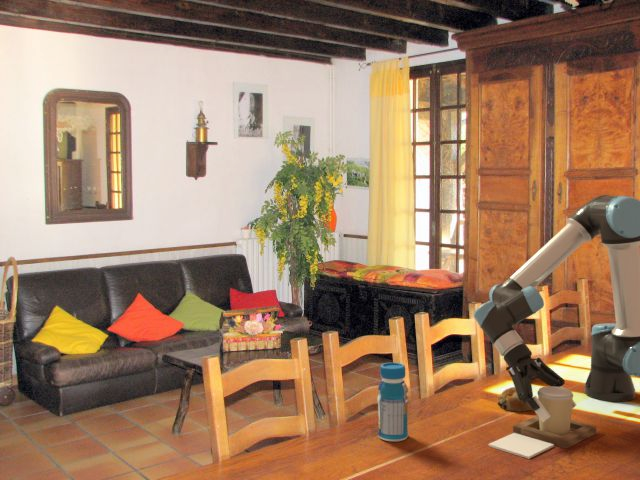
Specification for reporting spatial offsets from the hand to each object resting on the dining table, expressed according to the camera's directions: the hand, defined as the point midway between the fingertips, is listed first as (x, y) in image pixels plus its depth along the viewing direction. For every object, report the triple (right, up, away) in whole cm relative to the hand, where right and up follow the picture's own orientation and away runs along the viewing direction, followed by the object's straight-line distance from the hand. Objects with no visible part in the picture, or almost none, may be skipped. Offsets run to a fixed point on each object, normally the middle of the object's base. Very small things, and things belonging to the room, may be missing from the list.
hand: (560, 413), depth 201 cm
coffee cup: (-1, -6, +2) cm, 6 cm away
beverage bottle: (-46, -7, +1) cm, 46 cm away
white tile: (-13, -7, -7) cm, 16 cm away
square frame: (-1, -6, +2) cm, 6 cm away
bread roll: (-6, -4, +25) cm, 26 cm away
